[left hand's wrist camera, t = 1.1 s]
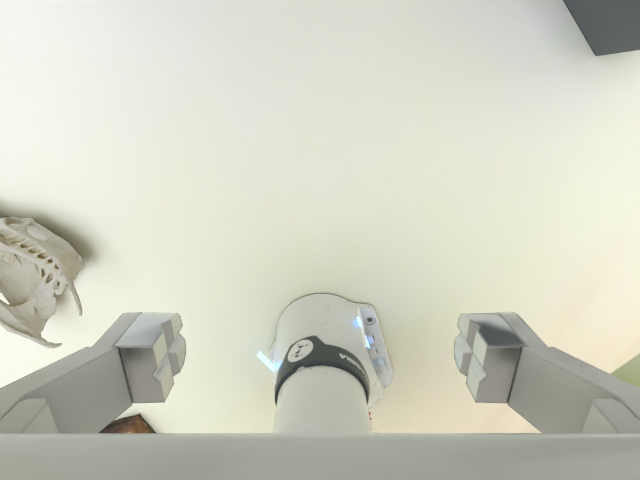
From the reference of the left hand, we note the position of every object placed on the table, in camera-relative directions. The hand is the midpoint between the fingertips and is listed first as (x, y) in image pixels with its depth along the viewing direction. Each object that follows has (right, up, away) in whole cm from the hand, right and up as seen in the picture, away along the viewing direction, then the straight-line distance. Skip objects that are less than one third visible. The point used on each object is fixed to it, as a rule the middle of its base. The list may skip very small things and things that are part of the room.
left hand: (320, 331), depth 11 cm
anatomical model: (-43, +1, +42) cm, 60 cm away
